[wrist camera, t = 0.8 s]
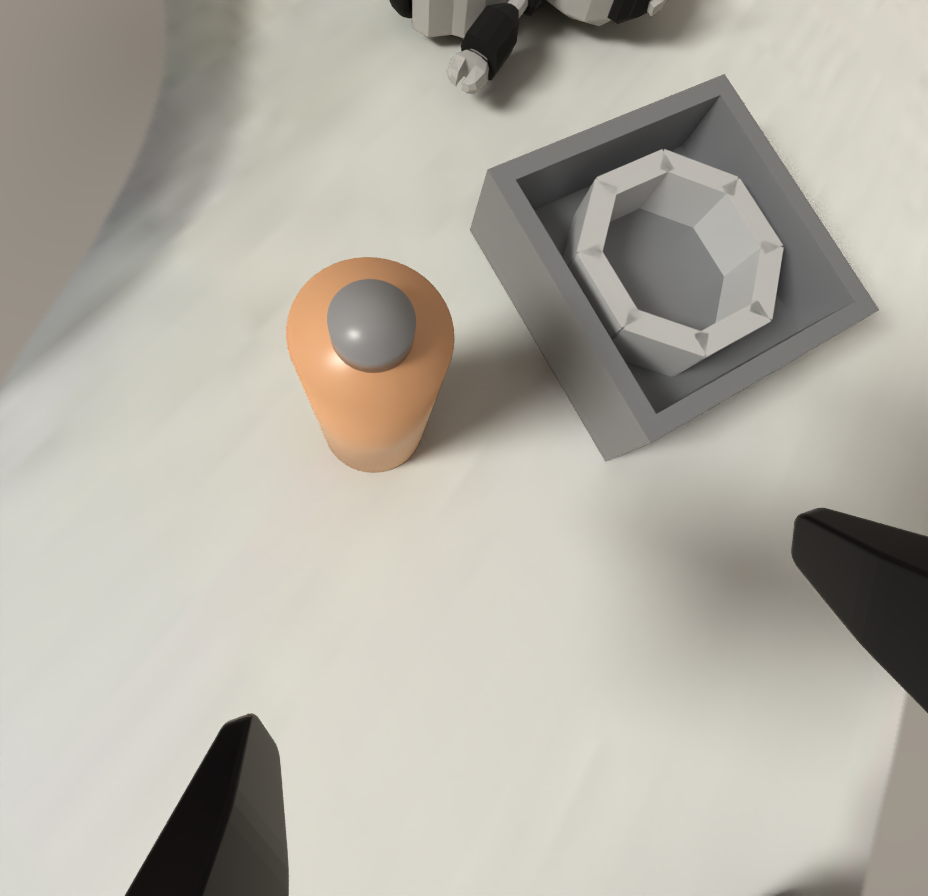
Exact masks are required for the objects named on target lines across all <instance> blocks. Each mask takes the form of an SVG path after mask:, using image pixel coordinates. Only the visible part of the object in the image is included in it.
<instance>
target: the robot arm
mask: <svg viewBox="0 0 928 896" xmlns="http://www.w3.org/2000/svg"><path fill="white" fill-rule="evenodd" d="M791 553H792V558H793V560H794V562H795V564H796V566H797V567H798V568H799V570H800V571H801V572H802V573H803V575H804V576H805V577H806V578H807V580H808V581H809V582H810V583H811V584H812V586H813V587H814V588H815V589H816V591H817V592H818V593H819V594H820V596H821V597H822V598H823V599H824V600H825V602H826V603H827V604H828V605H829V607H830V608H831V609H832V610H833V612H834V613H835V614H836V615H837V616H838V618H839V619H840V620H841V621H842V623H843V624H844V625H845V626H846V628H847V629H848V630H849V631H850V632H851V634H852V635H853V636H854V637H855V638H856V639H857V640H858V642H859V643H860V644H861V645H862V646H863V647H864V648H865V649H866V650H867V651H868V652H869V654H870V655H871V656H872V657H873V658H874V659H875V660H876V661H877V662H878V663H879V664H880V665H881V666H882V667H883V668H884V669H885V670H886V671H887V672H888V673H889V674H890V675H891V676H892V677H893V678H894V679H895V680H896V681H897V682H898V683H899V684H900V685H901V686H902V687H903V688H904V689H905V690H906V691H907V693H908V694H910V696H911V697H913V699H914V700H915V701H916V702H917V703H918V704H919V705H920V706H921V707H922V708H923V709H924V710H925V711H926V712H927V713H928V536H924V535H920V534H917V533H913V532H910V531H906V530H902V529H899V528H895V527H892V526H888V525H884V524H881V523H877V522H874V521H870V520H867V519H863V518H859V517H856V516H852V515H849V514H845V513H841V512H838V511H834V510H831V509H827V508H816V509H813V510H811V511H808V512H805V513H802V514H800V515H798V516H797V518H796V519H795V522H794V531H793V540H792V549H791ZM125 896H289V867H288V851H287V839H286V826H285V814H284V802H283V790H282V777H281V765H280V756H279V752H278V748H277V746H276V744H275V742H274V740H273V739H272V737H271V736H270V734H269V733H268V731H267V730H266V728H265V727H264V725H263V724H262V722H261V721H260V719H259V718H258V717H257V716H256V715H255V714H252V713H251V714H247V715H244V716H241V717H238V718H236V719H233V720H230V721H228V722H227V723H225V724H224V725H223V727H222V728H221V729H220V731H219V733H218V735H217V736H216V738H215V740H214V742H213V743H212V745H211V747H210V748H209V750H208V752H207V754H206V755H205V757H204V759H203V761H202V762H201V764H200V766H199V768H198V769H197V771H196V773H195V774H194V776H193V778H192V780H191V781H190V783H189V785H188V787H187V788H186V790H185V792H184V794H183V795H182V797H181V799H180V801H179V802H178V804H177V806H176V807H175V809H174V811H173V813H172V814H171V816H170V818H169V820H168V821H167V823H166V825H165V827H164V828H163V830H162V832H161V833H160V835H159V837H158V839H157V840H156V842H155V844H154V846H153V847H152V849H151V851H150V853H149V854H148V856H147V858H146V860H145V861H144V863H143V865H142V866H141V868H140V870H139V872H138V873H137V875H136V877H135V879H134V880H133V882H132V884H131V886H130V887H129V889H128V891H127V892H126V894H125Z"/></svg>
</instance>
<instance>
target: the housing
mask: <svg viewBox="0 0 928 896" xmlns="http://www.w3.org/2000/svg"><path fill="white" fill-rule="evenodd" d="M470 230H471V232H472V234H473V236H474V237H475V239H476V241H477V242H478V244H479V246H480V248H481V249H482V251H483V253H484V254H485V256H486V258H487V259H488V261H489V263H490V265H491V266H492V268H493V270H494V271H495V273H496V275H497V277H498V278H499V280H500V282H501V283H502V285H503V287H504V289H505V290H506V292H507V294H508V295H509V297H510V299H511V301H512V302H513V304H514V306H515V307H516V309H517V311H518V312H519V314H520V316H521V318H522V319H523V321H524V323H525V324H526V326H527V328H528V330H529V331H530V333H531V335H532V336H533V338H534V340H535V342H536V343H537V345H538V347H539V348H540V350H541V352H542V354H543V355H544V357H545V359H546V360H547V362H548V364H549V365H550V367H551V369H552V371H553V372H554V374H555V376H556V377H557V379H558V381H559V383H560V384H561V386H562V388H563V389H564V391H565V393H566V395H567V396H568V398H569V400H570V401H571V403H572V405H573V407H574V408H575V410H576V412H577V413H578V415H579V417H580V419H581V420H582V422H583V424H584V425H585V427H586V429H587V430H588V432H589V434H590V436H591V437H592V439H593V441H594V442H595V444H596V446H597V448H598V449H599V451H600V453H601V454H602V456H603V458H604V460H605V461H608V460H610V459H613V458H615V457H617V456H620V455H622V454H625V453H627V452H630V451H632V450H635V449H637V448H640V447H642V446H645V445H647V444H650V443H652V442H653V441H655V440H657V439H658V438H660V437H662V436H664V435H665V434H667V433H669V432H670V431H672V430H674V429H676V428H677V427H679V426H681V425H682V424H684V423H686V422H688V421H689V420H691V419H693V418H694V417H696V416H698V415H700V414H701V413H703V412H705V411H707V410H708V409H710V408H712V407H713V406H715V405H717V404H719V403H720V402H722V401H724V400H725V399H727V398H729V397H731V396H732V395H734V394H736V393H737V392H739V391H741V390H743V389H744V388H746V387H748V386H749V385H751V384H753V383H755V382H756V381H758V380H760V379H762V378H763V377H765V376H767V375H768V374H770V373H772V372H774V371H775V370H777V369H779V368H780V367H782V366H784V365H786V364H787V363H789V362H791V361H792V360H794V359H796V358H798V357H799V356H801V355H803V354H804V353H806V352H808V351H810V350H811V349H813V348H815V347H817V346H818V345H820V344H822V343H823V342H825V341H827V340H829V339H830V338H832V337H834V336H835V335H837V334H839V333H841V332H842V331H844V330H846V329H847V328H849V327H851V326H853V325H854V324H856V323H858V322H859V321H861V320H863V319H865V318H866V317H868V316H870V315H871V314H873V313H875V312H877V311H878V310H879V309H878V308H877V306H876V305H875V303H874V301H873V300H872V298H871V297H870V295H869V294H868V292H867V291H866V289H865V288H864V286H863V285H862V283H861V282H860V280H859V279H858V277H857V275H856V274H855V272H854V271H853V269H852V268H851V266H850V265H849V263H848V262H847V260H846V259H845V257H844V256H843V254H842V253H841V251H840V250H839V248H838V246H837V245H836V243H835V242H834V240H833V239H832V237H831V236H830V234H829V233H828V231H827V230H826V228H825V227H824V225H823V224H822V222H821V221H820V219H819V217H818V216H817V214H816V213H815V211H814V210H813V208H812V207H811V205H810V204H809V202H808V201H807V199H806V198H805V196H804V195H803V193H802V192H801V190H800V188H799V187H798V185H797V184H796V182H795V181H794V179H793V178H792V176H791V175H790V173H789V172H788V170H787V169H786V167H785V166H784V164H783V163H782V161H781V159H780V158H779V156H778V155H777V153H776V152H775V150H774V149H773V147H772V146H771V144H770V143H769V141H768V140H767V138H766V137H765V135H764V134H763V132H762V130H761V129H760V127H759V126H758V124H757V123H756V121H755V120H754V118H753V117H752V115H751V114H750V112H749V111H748V109H747V108H746V106H745V105H744V103H743V101H742V100H741V98H740V97H739V95H738V94H737V92H736V91H735V89H734V88H733V86H732V85H731V83H730V82H729V80H728V79H727V77H726V76H725V74H724V75H721V76H719V77H716V78H714V79H711V80H709V81H706V82H704V83H701V84H699V85H696V86H694V87H691V88H689V89H686V90H684V91H681V92H679V93H676V94H674V95H671V96H669V97H666V98H664V99H662V100H659V101H657V102H654V103H652V104H649V105H647V106H644V107H642V108H639V109H637V110H634V111H632V112H629V113H627V114H624V115H622V116H619V117H617V118H614V119H612V120H609V121H607V122H604V123H602V124H599V125H597V126H595V127H592V128H590V129H587V130H585V131H582V132H580V133H577V134H575V135H572V136H570V137H567V138H565V139H562V140H560V141H557V142H555V143H552V144H550V145H547V146H545V147H542V148H540V149H537V150H535V151H532V152H530V153H528V154H525V155H523V156H520V157H518V158H515V159H513V160H510V161H508V162H505V163H503V164H500V165H498V166H495V167H493V168H490V169H488V170H487V173H486V177H485V180H484V184H483V187H482V191H481V194H480V197H479V201H478V204H477V208H476V211H475V215H474V218H473V222H472V225H471V228H470Z"/></svg>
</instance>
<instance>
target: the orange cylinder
mask: <svg viewBox="0 0 928 896" xmlns="http://www.w3.org/2000/svg"><path fill="white" fill-rule="evenodd" d="M286 338H287V345H288V350H289V354H290V357H291V360H292V362H293V365H294V367H295V369H296V372H297V374H298V376H299V379H300V381H301V383H302V385H303V388H304V390H305V392H306V395H307V397H308V399H309V402H310V404H311V406H312V409H313V411H314V413H315V415H316V418H317V420H318V422H319V425H320V427H321V429H322V432H323V434H324V436H325V439H326V441H327V443H328V445H329V447H330V449H331V450H332V452H333V453H334V454H335V456H336V457H337V458H338V459H339V460H340V461H342V462H343V463H344V464H346V465H347V466H349V467H351V468H353V469H356V470H359V471H363V472H371V473H374V472H384V471H388V470H391V469H393V468H396V467H398V466H399V465H401V464H403V463H404V462H405V461H406V460H407V459H408V458H409V457H410V456H411V455H412V454H413V453H414V451H415V450H416V448H417V446H418V444H419V442H420V439H421V437H422V434H423V431H424V429H425V426H426V424H427V421H428V418H429V416H430V413H431V411H432V408H433V405H434V403H435V400H436V398H437V395H438V392H439V390H440V387H441V385H442V382H443V379H444V377H445V374H446V372H447V369H448V366H449V364H450V361H451V358H452V354H453V349H454V327H453V322H452V318H451V315H450V312H449V309H448V307H447V305H446V303H445V301H444V299H443V298H442V296H441V295H440V293H439V292H438V291H437V290H436V288H435V287H434V286H433V285H432V284H431V283H430V282H429V281H428V280H427V279H426V278H425V277H423V276H422V275H420V274H419V273H418V272H416V271H415V270H413V269H411V268H409V267H407V266H405V265H403V264H400V263H398V262H395V261H391V260H387V259H381V258H371V257H363V258H353V259H348V260H344V261H341V262H338V263H335V264H333V265H331V266H329V267H327V268H325V269H323V270H322V271H320V272H319V273H317V274H316V275H314V276H313V277H312V278H311V279H310V280H309V281H308V282H307V283H306V284H305V285H304V286H303V287H302V289H301V290H300V291H299V293H298V295H297V296H296V298H295V300H294V302H293V304H292V306H291V309H290V312H289V316H288V321H287V327H286Z"/></svg>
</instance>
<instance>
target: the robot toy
mask: <svg viewBox="0 0 928 896" xmlns="http://www.w3.org/2000/svg"><path fill="white" fill-rule="evenodd" d="M547 1H548V2H549V3H551V4H552V5H553V6H554V7H556V8H557V9H558V10H559V11H561V12H562V13H563V14H565V15H566V16H568V17H569V18H572V19H576V20H579V21H583V22H586V23H590V24H593V25H597V26H601V25H603V24H605V23H607V22H609V21H611V20H612V21H614V22H615V23H617V24H619V23H621V22H624V21H627V20H630V19H633V18H637V17H639V16H641V15H643V14H645V13H647V12H648V13H649V15H650V16H651V17H652V16H653V15H655V14H656V13H657V12H659V11H660V10H662V9H663V5H664V3H666V2H667V1H668V0H547ZM541 2H542V0H390V3H391V5H392V7H393V8H394V9H395V10H396V11H397V12H398V13H399V14H400V15H401V16H403V17H406V18H412V28H413V29H415V30H417V31H418V32H420V33H422V34H423V35H425V36H427V37H435V36H444V35H455V36H459V37H460V38H462V39H463V42H462V45H461V50H462V52H459V53H456V54H455V55H454V56H453V58H452V59H451V61H450V64H449V66H448V69H447V74H448V77H449V80H450V82H451V83H452V84H453V85H455V86H456V85H457V83H458V82H459V81H460V80H461V79H462V77H463V76H465V77H466V79H465V80H464V81H463V82H462V89H461V90H463V91H464V92H466V93H470V94H474V93H475V92H477V91H478V90H479V89H480V88H481V87H483V86H484V85H485V84H486V83H487V81H488V80H492V79H493V77H494V76H495V74H496V73H497V72H498V70H499V69H500V68H501V66H502V65H503V63H504V62H505V61H506V59H507V58H508V57H509V55H510V53H511V52H512V50H513V48H514V46H515V44H516V42H517V34H518V24H519V18H520V16H521V15H522V14H524V15H528V16H532V14H533V13H534V12H535V10H536V9H537V7H538V6H539V5H540V3H541Z"/></svg>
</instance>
